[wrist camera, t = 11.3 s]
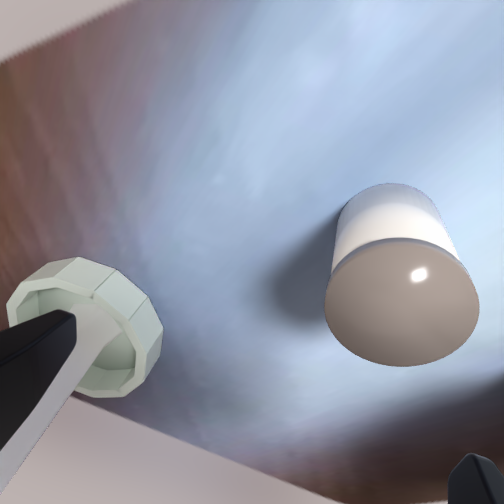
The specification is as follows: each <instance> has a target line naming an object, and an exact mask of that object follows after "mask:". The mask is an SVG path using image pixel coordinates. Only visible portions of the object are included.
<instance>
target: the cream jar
mask: <svg viewBox="0 0 504 504" xmlns="http://www.w3.org/2000/svg"><path fill="white" fill-rule="evenodd" d="M324 309H325V317H326V321H327V323H328V326H329V328H330V330H331V332H332V333H333V335H334V336H335V338H336V339H337V340H338V341H339V342H340V343H341V344H342V345H343V346H344V347H345V348H347V349H348V350H349V351H351V352H352V353H354V354H355V355H357V356H359V357H361V358H363V359H366V360H368V361H371V362H374V363H378V364H382V365H388V366H397V367H408V366H417V365H423V364H427V363H431V362H434V361H437V360H439V359H441V358H444V357H446V356H447V355H449V354H451V353H453V352H454V351H455V350H457V349H458V348H459V347H460V346H461V345H463V344H464V343H465V342H466V340H467V339H468V338H469V337H470V335H471V334H472V332H473V330H474V329H475V326H476V324H477V321H478V316H479V299H478V295H477V292H476V289H475V287H474V285H473V282H472V280H471V278H470V275H469V274H468V272H467V270H466V268H465V267H464V266H463V264H462V263H461V262H460V260H459V258H458V255H457V253H456V251H455V248H454V246H453V244H452V241H451V239H450V237H449V234H448V232H447V229H446V227H445V225H444V222H443V220H442V218H441V215H440V213H439V211H438V209H437V207H436V205H435V204H434V202H433V201H432V200H431V199H430V198H429V197H428V196H427V195H426V194H424V193H423V192H421V191H420V190H418V189H416V188H414V187H411V186H408V185H403V184H396V183H386V184H379V185H376V186H372V187H370V188H367V189H365V190H363V191H361V192H359V193H358V194H357V195H355V196H354V197H353V198H352V199H351V200H350V201H349V202H348V203H347V204H346V205H345V207H344V208H343V210H342V212H341V214H340V216H339V220H338V224H337V232H336V239H335V247H334V255H333V263H332V270H331V275H330V278H329V280H328V284H327V289H326V296H325V304H324Z"/></svg>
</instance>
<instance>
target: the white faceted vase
mask: <svg viewBox="0 0 504 504" xmlns="http://www.w3.org/2000/svg"><path fill="white" fill-rule="evenodd" d="M69 312H70V313H73V314H74V315H75V316H76V322H77V342H76V345H75V347H74V349H73V351H72V353H71V354H70V356H69V357H68V359H67V360H66V362H65V363H64V365H63V366H62V368H61V369H60V371H59V372H58V374H57V376H56V377H55V379H54V380H53V382H52V383H51V385H50V386H49V388H48V389H47V391H46V392H45V394H44V395H43V397H42V398H41V400H40V401H39V403H38V404H37V406H36V407H35V408H34V410H33V411H32V412H31V414H30V415H29V416H28V417H27V419H26V420H25V421H24V422H23V424H22V425H21V426H20V427H19V429H18V430H17V431H16V432H15V434H14V435H13V436H12V437H11V439H10V440H9V441H8V442H7V444H6V445H5V446H4V447H3V448H2V450H1V451H0V494H1V493H2V492H3V490H4V489H5V487H6V486H7V484H8V483H9V481H10V480H11V479H12V477H13V476H14V474H15V473H16V472H17V470H18V469H19V467H20V466H21V464H22V463H23V462H24V460H25V459H26V457H27V456H28V454H29V453H30V452H31V450H32V449H33V447H34V446H35V444H36V443H37V442H38V440H39V439H40V437H41V436H42V435H43V433H44V432H45V430H46V429H47V427H48V426H49V424H50V423H51V422H52V420H53V418H54V417H55V416H56V415H57V413H58V412H59V410H60V409H61V407H62V406H63V405H64V403H65V402H66V400H67V399H68V397H69V396H70V395H71V393H72V392H73V390H74V389H75V387H76V386H77V385H78V383H79V382H80V380H81V379H82V377H83V376H84V375H85V373H86V372H87V370H88V369H89V367H90V366H91V365H92V363H93V362H94V360H95V359H96V358H97V356H98V355H99V353H100V352H101V350H102V349H103V348H104V347H106V346H107V345H108V344H109V343H111V342H112V341H113V340H114V339H116V338H117V337H118V336H119V335H120V334H121V333H122V330H121V329H120V327H119V326H118V324H117V323H116V322H115V320H114V319H113V317H112V316H111V315H110V314H109V313H108V312H106V311H105V310H104V309H103V308H101V307H100V306H99V305H98V304H73V306H72V307H71V309H70V311H69Z"/></svg>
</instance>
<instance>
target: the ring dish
mask: <svg viewBox="0 0 504 504" xmlns="http://www.w3.org/2000/svg"><path fill="white" fill-rule="evenodd" d="M73 304H98V305H99V306H100V307H101V308H103V309H104V310H105V311H106V312H108V313H109V314H110V315H111V316H112V317H113V319H114V320H115V322H116V323H117V324H118V326H119V327H120V329H121V330H122V333H121V334H120V335H119V336H118V337H117V338H116V339H114V340H113V341H112V342H111V343H109V344H108V345H107V346H106V347H104V348H103V349H102V350H101V352H100V353H99V355H98V356H97V358H96V359H95V360H94V362H93V363H92V365H91V366H90V367H89V369H88V370H87V372H86V373H85V375H84V376H83V377H82V379H81V380H80V382H79V383H78V385H77V386H76V387H75V389H74V391H77V392H80V393H82V394H85V395H88V396H90V397H93V398H105V397H125V396H126V395H127V394H128V393H130V392H131V391H132V390H134V389H135V388H136V387H138V386H139V385H140V384H141V383H143V382H144V380H145V379H146V377H147V376H148V374H149V372H150V371H151V369H152V368H153V366H154V364H155V363H156V361H157V360H158V358H159V356H160V353H161V345H162V338H163V330H164V329H163V326H162V324H161V322H160V320H159V318H158V316H157V314H156V312H155V310H154V308H153V306H152V304H151V301H150V299H149V297H147V295H146V294H145V293H143V292H142V291H141V290H140V289H139V288H138V287H136V286H135V285H134V284H133V283H132V282H131V281H129V280H128V279H127V278H126V277H125V276H124V275H122V274H121V273H120V272H119V271H118V270H116V269H114V268H111V267H108V266H105V265H102V264H99V263H96V262H93V261H90V260H87V259H84V258H81V257H75V258H70V259H64V260H59V261H54V262H49V263H47V264H46V265H44V266H43V267H42V268H40V269H39V270H38V271H36V272H35V273H34V274H32V275H31V276H29V277H28V278H27V279H25V280H24V281H23V282H21V283H20V285H19V286H18V288H17V289H16V291H15V292H14V293H13V295H12V296H11V298H10V299H9V301H8V302H7V304H6V306H7V313H8V319H9V326H10V327H12V326H15V325H17V324H20V323H22V322H25V321H27V320H30V319H33V318H35V317H38V316H40V315H43V314H45V313H48V312H50V311H53V310H56V309H61V310H64V311H67V312H69V311H70V309H71V307H72V306H73Z"/></svg>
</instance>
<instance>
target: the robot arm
mask: <svg viewBox="0 0 504 504" xmlns="http://www.w3.org/2000/svg"><path fill="white" fill-rule="evenodd" d="M76 342H77V322H76V316H75V315H74V314H73V313H70V312H67V311H64V310H61V309H56V310H53V311H50V312H48V313H45V314H43V315H40V316H38V317H35V318H33V319H30V320H27V321H25V322H22V323H20V324H17V325H15V326H12V327H10V328H7V329H5V330H2V331H0V451H1V450H2V448H3V447H4V446H5V445H6V444H7V442H8V441H9V440H10V439H11V437H12V436H13V435H14V434H15V432H16V431H17V430H18V429H19V427H20V426H21V425H22V424H23V422H24V421H25V420H26V419H27V417H28V416H29V415H30V414H31V412H32V411H33V410H34V408H35V407H36V406H37V404H38V403H39V401H40V400H41V398H42V397H43V395H44V394H45V392H46V391H47V389H48V388H49V386H50V385H51V383H52V382H53V380H54V379H55V377H56V376H57V374H58V372H59V371H60V369H61V368H62V366H63V365H64V363H65V362H66V360H67V359H68V357H69V356H70V354H71V353H72V351H73V349H74V347H75V345H76ZM448 504H504V476H503V475H502V473H501V472H500V471H499V469H498V468H497V467H496V465H495V464H494V463H493V462H492V461H491V460H490V459H488V458H485V457H483V456H480V455H477V454H474V453H469V454H467V455H466V456H465V457H464V458H463V459H462V460H461V461H460V462H459V464H458V465H457V466H456V467H455V468H454V469H453V470H452V472H451V473H450V475H449V478H448Z"/></svg>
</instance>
